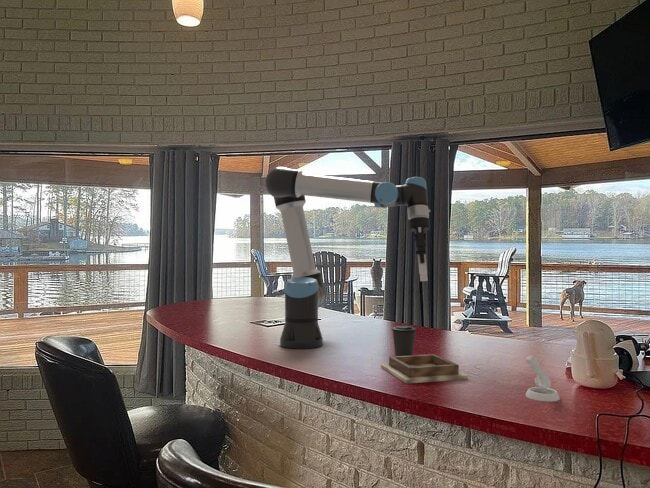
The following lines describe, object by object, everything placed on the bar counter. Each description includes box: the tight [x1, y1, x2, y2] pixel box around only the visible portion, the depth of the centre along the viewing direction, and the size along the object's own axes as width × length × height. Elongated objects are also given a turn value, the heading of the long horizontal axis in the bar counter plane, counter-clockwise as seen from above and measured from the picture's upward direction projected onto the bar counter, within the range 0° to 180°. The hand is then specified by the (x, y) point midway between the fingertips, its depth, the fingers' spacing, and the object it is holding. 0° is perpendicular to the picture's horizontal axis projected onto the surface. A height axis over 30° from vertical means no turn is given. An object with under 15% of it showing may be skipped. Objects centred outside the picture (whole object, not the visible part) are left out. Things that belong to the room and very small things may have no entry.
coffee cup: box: [391, 325, 417, 356], centre depth 173 cm, size 8×8×10 cm
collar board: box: [380, 353, 469, 384], centre depth 153 cm, size 18×18×4 cm
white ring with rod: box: [525, 355, 561, 403], centre depth 130 cm, size 8×12×7 cm
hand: (423, 277), depth 190 cm, fingers open, 13 cm apart
